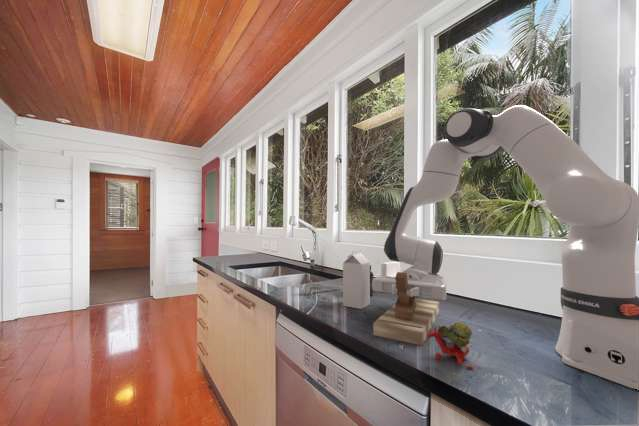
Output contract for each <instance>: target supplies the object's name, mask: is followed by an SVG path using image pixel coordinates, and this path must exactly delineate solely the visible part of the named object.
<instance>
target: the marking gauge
mask: <svg viewBox="0 0 639 426" xmlns="http://www.w3.org/2000/svg"><path fill="white" fill-rule="evenodd" d="M402 272H403V271H401V272H397V274H396V277H395V280H396V286H397V292H398V295H397V299H396V302H395V303H396V305H395V308H394V310H395V316H396V318H402V319H408V320H413V316H414V312H415V308H416V298H415V296H413V297H408V296H406V294H407V293H406V290H407V289H409V287H408V280H407V273H402Z"/></svg>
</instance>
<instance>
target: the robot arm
mask: <svg viewBox="0 0 639 426" xmlns="http://www.w3.org/2000/svg"><path fill="white" fill-rule="evenodd" d="M443 134H444V137H445V139H440V140H438V141H435V142H434V143H433V144H432V145H431V147H430V149H429V151H428V154H427V157H426V159H425V163H424V165H423V166H424V167H423V170H422V171H423V172H422V175H421V177H420V179H419V181H418V182H417V184H416V185H414V186H411V187H410V188H409V189H408V190H407V192H406V194H405V196H404V199H403V200H402V203H401V205H400V207H399V210H398V212H397V215H396V217H395V220H394V222H393V225H392V227H391V229H390V232H389V234H388V235H387V238H386V239H385V243H384V245H383V252H384V254H385V256H386V257H387V258H388V259H389V261H391V262H401V263H404V264H407V265H411V266H410V267H409V268H406V269H404V270H403V271H401V272H402V273H407V280H408V287H409V289H407V290H406V293H407V294H406V296H408V297H413V296H415V298H416V299H433V300H440V301H445V300H447V283H446V281H445V280H444V276H443V275H441V274H438V273H439V272H440V269H441V267H442V264H443V258H444V252H443V249H442V247H441V245H440V243H439V242H438V241H436V240H433V239H429V238H425V237H419V236H415V235H411V234H407V233H406V229H407V228H408V225H409V224H410V223H409V222H410V220H411V217H412V216H413V213H414V211H415V210H416V209H417V208H419V207H421V206H425V205H429V204H431V205H432V204H435V203H436V204H437V203H440V202H443V201H444V202H445V201H446V200H448V199H449V198H450V197H451V198H452V197H453V195H454V194H455V193H456V190H457V188H458V184H459V181H460V177H461V171H462V168H463V165H464V163H465V161H467V160H468V161H472V162H474V161H476V160H480V159H486V158H491V157H493V156H496V155H498V154H499V153H501V151H502V150H505V152H506V153H507V154H508V155H509V156H510V157H511V159H513V161H514V162H516V164H517V165H518V166H519V167H520V168H521V169H522V170H523V171H524V172H525V173H526V175H527V176H528V177H529V178H530V180H531V181H532V183H533V184H534V186H535V187H536V188H537V191H538V192H539V194H540V195H541V197H542V199H543V200H544V202H546V206H547V207H546V208H547V209H548V210H549V212H550V213H551V214H552V215H553V216H554V217H556V218H557V219H559V220H560V221H561V222H562V223H563V222H564V223H566V224H567V225H569V228H568V233H567V237H566V242H565V244H564V248H563V249H562V253H561V263H562V264H561V267H562V269H561V271H562V274H561V275H562V287H560V307H561V309H562V314H561V324H560V325H561V326H560V330H559V334H558V339H557V341H556V342H557V343H556V345H555V347H554V350H555V351H556V353H558V355H560V356H561V361H562V363H564V364H565V365H568V366H571V367H573V368H576V369H579V370H582V371H584V372H586V373H589V374H592V375H596V376H598V377H600V378H603V379H606V380H609V381H611V382H614V383H616V384H619V385H622V386H624V387H627V388H630V389H633V388H634V389H633V390H635V389H637V390H636V391H638V390H639V296H637V289H636V284H637V283H636V265H635V264H636V262H635V260H636V256H635V255H636V247H637V246H636V245H637V241H638V239H637V238H638V230H639V195H638V193H637V191H636V190H635V188H634V187H632V186H631V185H630V184H629V183H626V182H624V181H622V180H618V179H614V178H613V177H611V176H609V175H608V174H607V173H606V172H605V171H604V170H602V169H601V168H600V167H599V166H598V165H597V164H596V163H595V162H594V160H592V159H591V158H590V157H589V155H588V154H587V153H586V152H585V151H584V150H583V148H582V147H581V146H580V145H579V144H578V143H577V142H576V141H575V140H573V139H572V138H571V137H570V136H569V135H568V134H566V132H564V131H563V130H562V129H561V128H559V127H558V126H557V125H556V124H555V123H554V122H553V121H552V120H551V119H549V118H547V117H546V116H545V115H543V114H541V113H540V112H538V111H537V110H535V109H533V108H531V107H529V106H527V105H524V104H518V105H513V106H511V107H509V108H506V109H505V110H503V111H502V112H501V113H499V114H498V115H493V113H492V111H491V110H486V109H485V110H484V109H479V108H478V109H477V108H472V107H471V108H470V107H465V108H463V107H462V108H460V109H457V110H455V111H454V112H452V113H451V114H450V115H449V116H448V117H447V119H446V121H445V122H444V125H443ZM372 289H373V292H376V293H377V292H379V293H384V294H385V293H386V294H391V295H393V296H398V292H397V286H396V280H395V277H389V276H381V275H380V276H376V277H374V279H373V280H372Z"/></svg>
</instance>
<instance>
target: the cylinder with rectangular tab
mask: <svg viewBox="0 0 639 426" xmlns="http://www.w3.org/2000/svg"><path fill="white" fill-rule="evenodd" d="M401 264H402V262H397V261H389V262H385V261H384V262H381V268H380V269H381V275H380V276H389V277H396V274H397V272H402V269H401Z"/></svg>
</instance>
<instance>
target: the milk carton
mask: <svg viewBox="0 0 639 426" xmlns="http://www.w3.org/2000/svg"><path fill="white" fill-rule="evenodd" d="M370 265H371V262H370V261H369V259H367V258H366V257H365V256H364V255H363V253H362V250H354V251H351V253H350V254H349V255H348V256H347V259H345V260H344V262H342V287H343V290H342V306H344V307H348V308H353V309H359V310H363V309H364V308H366V307H368V306H369V305H371V301H370V300H371V296H370Z"/></svg>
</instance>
